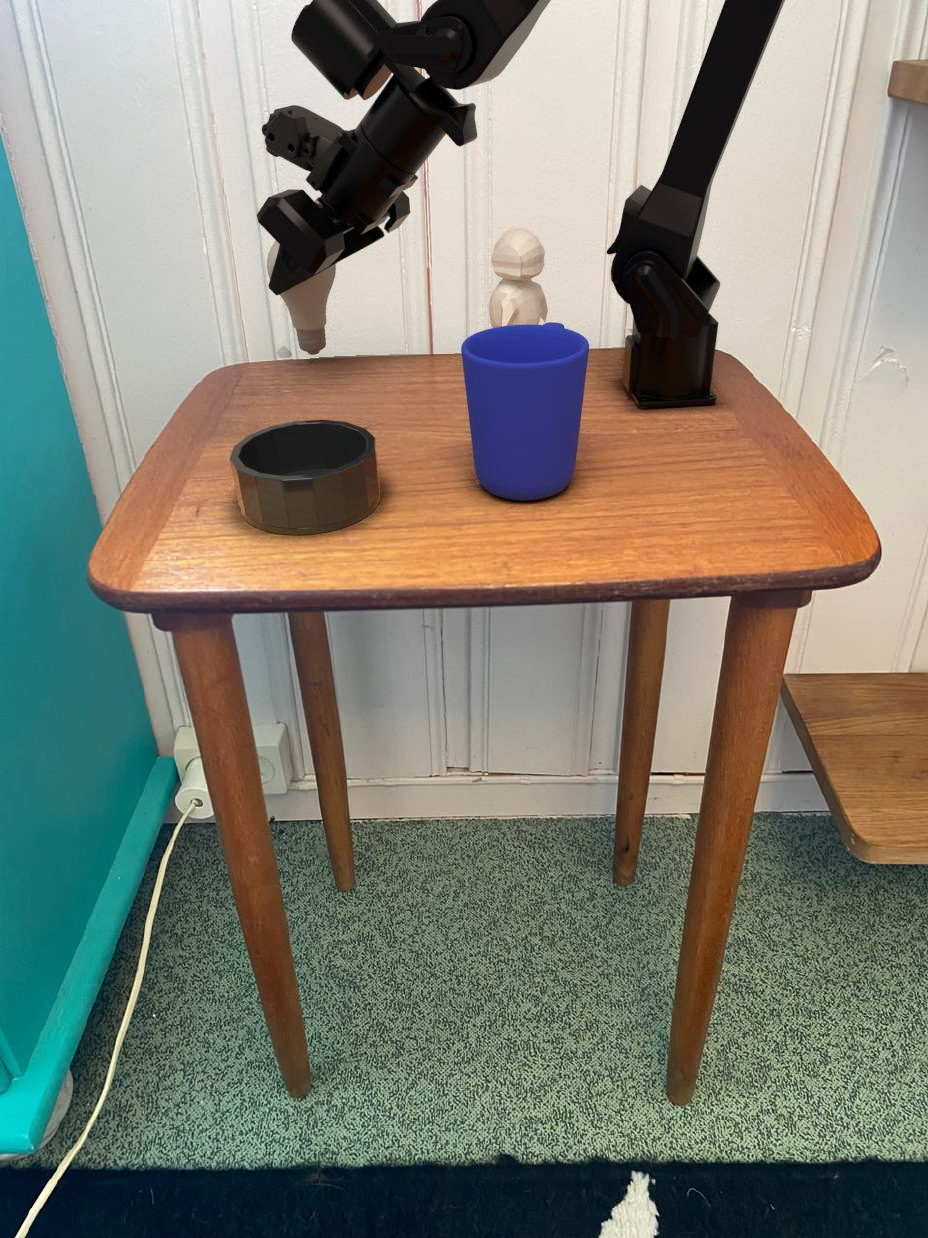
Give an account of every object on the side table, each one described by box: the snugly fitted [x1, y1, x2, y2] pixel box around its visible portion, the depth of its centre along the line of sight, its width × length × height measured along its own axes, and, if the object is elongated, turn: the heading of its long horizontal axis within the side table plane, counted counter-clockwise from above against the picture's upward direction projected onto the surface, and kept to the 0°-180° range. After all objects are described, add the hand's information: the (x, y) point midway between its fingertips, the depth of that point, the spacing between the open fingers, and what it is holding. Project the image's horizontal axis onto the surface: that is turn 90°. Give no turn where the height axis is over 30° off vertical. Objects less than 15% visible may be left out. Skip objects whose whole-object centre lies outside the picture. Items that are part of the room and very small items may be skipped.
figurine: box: [488, 227, 549, 328], centre depth 81 cm, size 8×5×12 cm, turn 146°
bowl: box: [229, 419, 381, 536], centre depth 62 cm, size 10×10×4 cm
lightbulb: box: [266, 240, 337, 356], centre depth 83 cm, size 6×6×11 cm
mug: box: [460, 321, 590, 501], centre depth 63 cm, size 8×12×10 cm
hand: (290, 281), depth 83 cm, fingers closed on lightbulb, 6 cm apart
